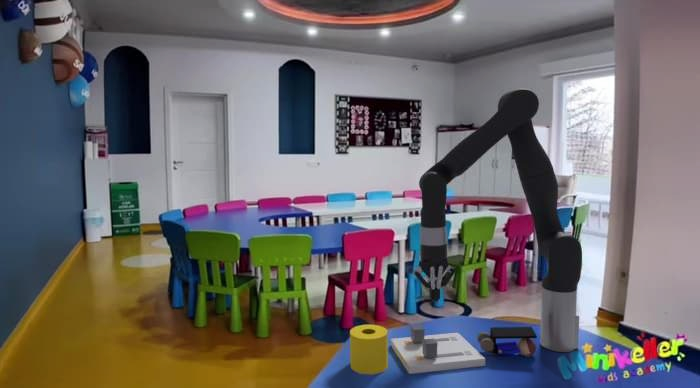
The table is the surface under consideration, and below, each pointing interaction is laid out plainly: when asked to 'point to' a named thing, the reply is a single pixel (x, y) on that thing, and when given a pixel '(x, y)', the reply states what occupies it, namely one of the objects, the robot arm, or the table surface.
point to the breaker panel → (449, 354)
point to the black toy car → (522, 347)
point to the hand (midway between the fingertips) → (434, 300)
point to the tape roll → (369, 349)
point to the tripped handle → (417, 333)
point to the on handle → (429, 348)
